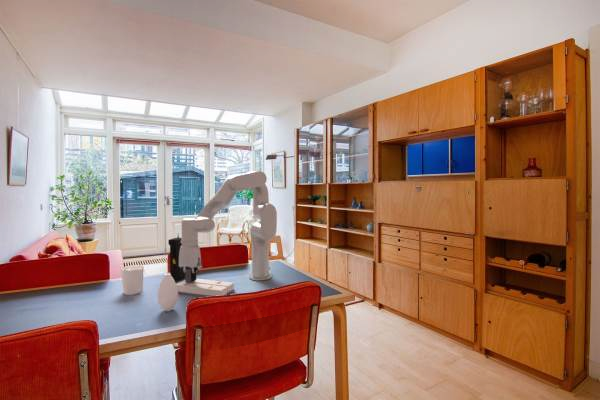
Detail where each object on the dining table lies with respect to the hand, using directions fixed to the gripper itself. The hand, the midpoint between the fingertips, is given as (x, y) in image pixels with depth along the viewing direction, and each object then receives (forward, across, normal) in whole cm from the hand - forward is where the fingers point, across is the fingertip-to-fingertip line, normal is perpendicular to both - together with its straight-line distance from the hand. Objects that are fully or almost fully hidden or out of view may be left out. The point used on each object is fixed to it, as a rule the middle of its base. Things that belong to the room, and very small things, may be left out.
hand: (190, 279), depth 156 cm
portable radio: (+5, -18, +12) cm, 22 cm away
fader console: (+5, +8, 0) cm, 10 cm away
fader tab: (+4, 0, 0) cm, 4 cm away
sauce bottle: (+5, +7, -24) cm, 26 cm away
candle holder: (+5, -25, -11) cm, 28 cm away
